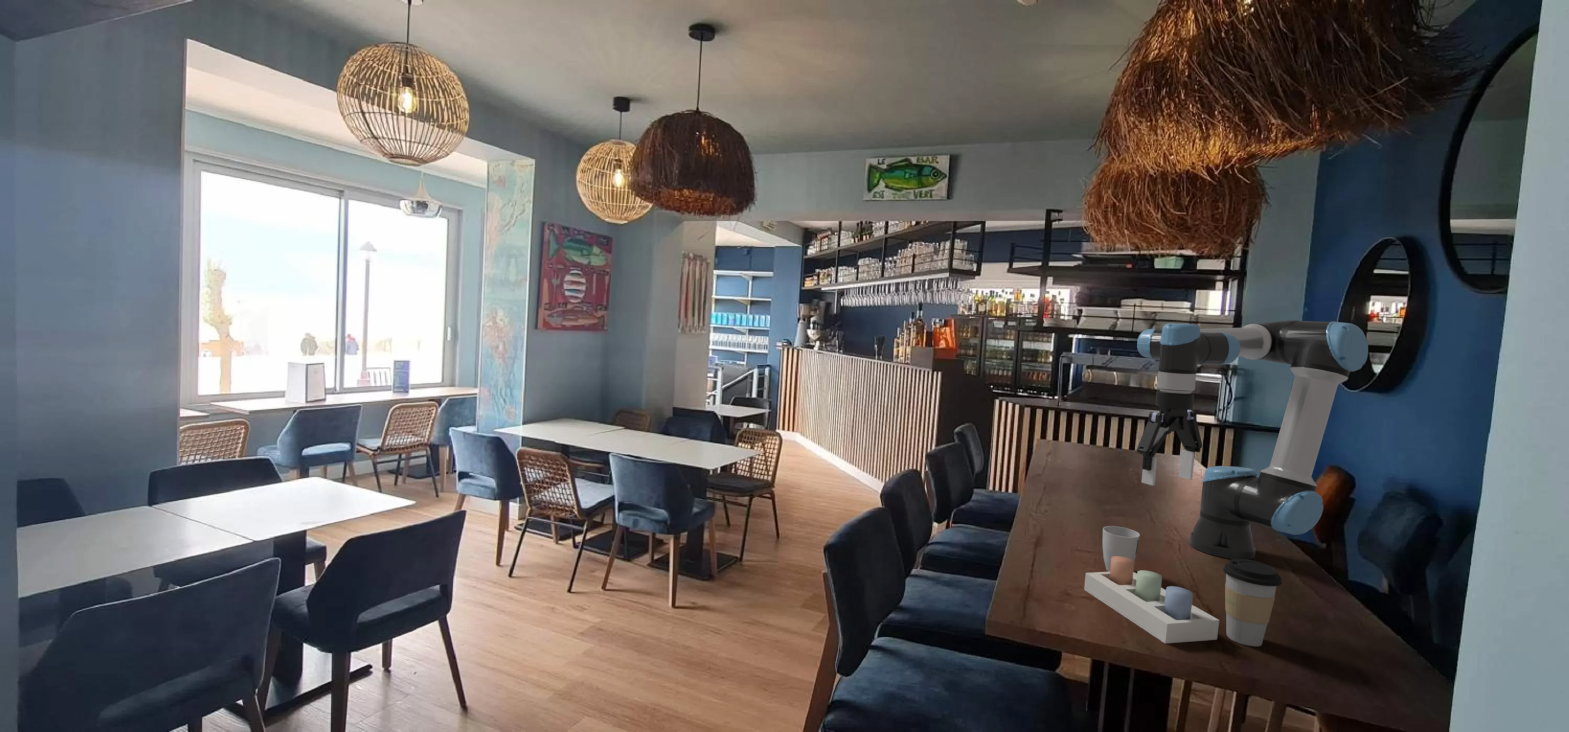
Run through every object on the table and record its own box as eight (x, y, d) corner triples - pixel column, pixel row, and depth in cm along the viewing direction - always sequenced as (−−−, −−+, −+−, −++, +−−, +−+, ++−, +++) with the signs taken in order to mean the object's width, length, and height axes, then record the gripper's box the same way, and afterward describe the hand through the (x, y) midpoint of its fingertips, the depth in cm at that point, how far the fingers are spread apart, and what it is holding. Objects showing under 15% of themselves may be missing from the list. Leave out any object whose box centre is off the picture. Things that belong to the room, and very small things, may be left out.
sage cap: (1148, 592, 143) (1150, 569, 143) (1164, 601, 139) (1167, 578, 138) (1130, 593, 142) (1132, 570, 142) (1146, 602, 138) (1148, 579, 137)
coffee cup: (1205, 627, 135) (1213, 556, 134) (1248, 627, 136) (1256, 557, 135) (1240, 651, 126) (1249, 575, 124) (1286, 651, 127) (1295, 576, 125)
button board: (1129, 587, 154) (1131, 570, 153) (1217, 639, 130) (1219, 619, 130) (1084, 589, 151) (1085, 572, 151) (1165, 643, 128) (1167, 623, 127)
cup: (1140, 579, 158) (1144, 539, 158) (1104, 575, 160) (1107, 535, 159) (1130, 566, 166) (1133, 527, 165) (1095, 562, 168) (1099, 524, 167)
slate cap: (1177, 609, 135) (1180, 585, 135) (1195, 619, 131) (1198, 595, 130) (1158, 610, 134) (1160, 586, 134) (1176, 621, 130) (1178, 596, 129)
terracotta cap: (1122, 576, 151) (1124, 555, 150) (1137, 585, 146) (1139, 563, 146) (1104, 577, 150) (1106, 556, 149) (1119, 586, 145) (1121, 564, 145)
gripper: (1193, 386, 161) (1185, 471, 163) (1124, 390, 150) (1116, 481, 152) (1224, 390, 154) (1216, 479, 156) (1155, 395, 143) (1147, 490, 145)
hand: (1167, 481), depth 154 cm, fingers open, 13 cm apart
